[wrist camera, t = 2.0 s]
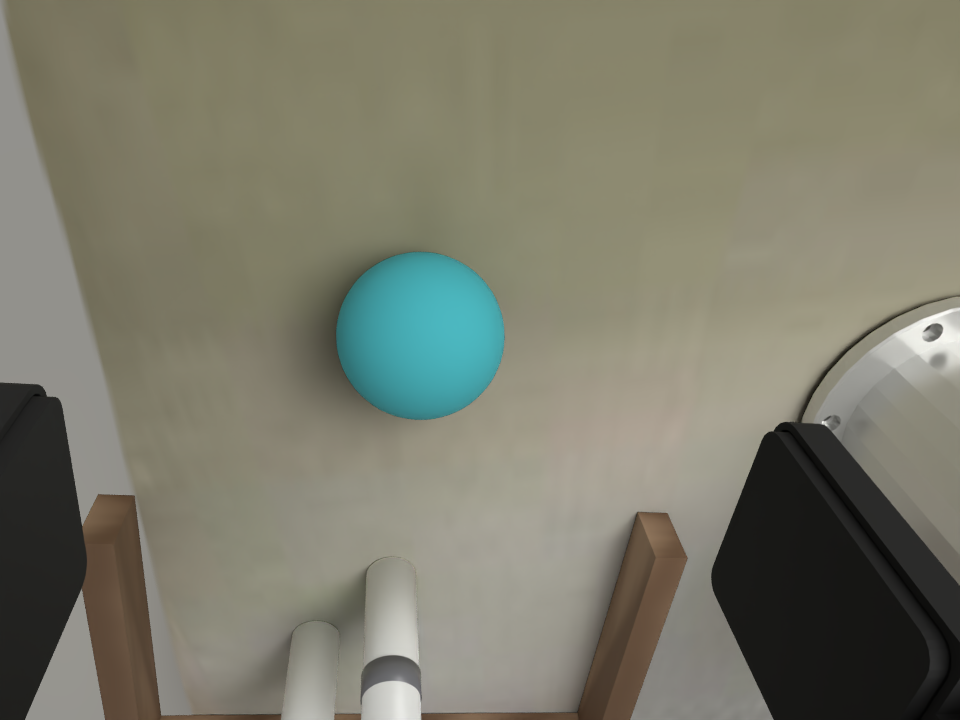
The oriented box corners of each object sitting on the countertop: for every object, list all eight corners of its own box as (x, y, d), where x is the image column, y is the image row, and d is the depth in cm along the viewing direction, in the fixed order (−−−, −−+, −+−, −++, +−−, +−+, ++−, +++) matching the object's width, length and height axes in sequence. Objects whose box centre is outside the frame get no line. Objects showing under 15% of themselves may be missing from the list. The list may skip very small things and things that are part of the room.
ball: (504, 233, 29) (528, 304, 24) (484, 368, 32) (501, 457, 27) (344, 219, 28) (333, 290, 23) (337, 360, 31) (327, 450, 26)
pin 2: (419, 556, 37) (425, 715, 30) (414, 593, 39) (419, 754, 31) (366, 555, 37) (360, 715, 30) (363, 592, 38) (357, 755, 31)
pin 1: (341, 620, 39) (330, 785, 32) (339, 653, 40) (328, 819, 33) (291, 619, 39) (268, 786, 32) (290, 653, 40) (268, 821, 33)
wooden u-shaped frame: (667, 513, 38) (687, 558, 35) (597, 728, 46) (609, 777, 43) (98, 494, 34) (74, 543, 31) (134, 733, 42) (117, 787, 39)
